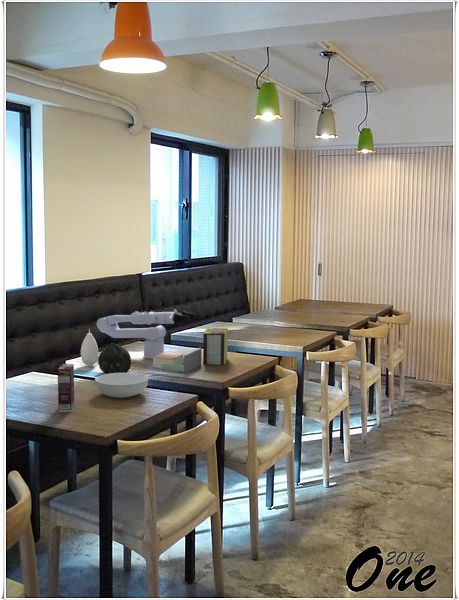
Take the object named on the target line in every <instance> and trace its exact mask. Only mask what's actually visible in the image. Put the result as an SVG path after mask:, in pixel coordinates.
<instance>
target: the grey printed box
mask: <svg viewBox="0 0 459 600" xmlns="http://www.w3.org/2000/svg"><path fill="white" fill-rule="evenodd" d="M202 350H203V347H198V348H196V349H194V350H192V351H189V352H188V353H185V354H183V365H179V364H169V363H162V368H161V370H162V369H165V370H164V371H169V370H172V372H178V371H182V372H181V373H188V372H190V371H192V370H193V369H196V368H198V367H199V366H201V365H202Z"/></svg>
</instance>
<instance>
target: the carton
mask: <svg viewBox="0 0 459 600" xmlns="http://www.w3.org/2000/svg"><path fill="white" fill-rule="evenodd" d="M183 357H184V353H175V352H166V351H164V353H161V354H159V355H157V356H155V357H153V359H152V361H153V362H152V367H160V368H159V369H162V363H169V364H179V365H182V364H183V365H184V363H183Z"/></svg>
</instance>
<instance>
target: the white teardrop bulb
mask: <svg viewBox="0 0 459 600" xmlns="http://www.w3.org/2000/svg"><path fill="white" fill-rule="evenodd" d="M80 357H81V361H82V363H83V364H84V365H85V366H87V367H88V368H89V367H92V366H94V365H95V364H96V363H97V362H98V358H99V348H98V344H97V341H96V339H95V337H94V335H93V334H92V333H91V329H90V328H89V329H88V333H86V336H85V337H84V339H83V341H82V343H81V348H80Z"/></svg>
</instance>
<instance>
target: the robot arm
mask: <svg viewBox="0 0 459 600" xmlns="http://www.w3.org/2000/svg"><path fill="white" fill-rule="evenodd" d="M195 319H196V313H191V312H188V311H185V310H181V313H180V312H178V311H177V309H173V311H161V312H160V311H158V312H157V311H155V312H154V311H149V312H148V311H143V312H139V311H138V310H137V311H134V312H132V313H131V314H129V315H128V314H115V315H108V316H105V317H101V318H98V319H97V321H96V326H97V328H98V330H99V331H100V332H101V333H104V334H106V335H108V337H111V338H113V339H145V340H144V345H143V357H142V358H144V359H151V360H153V357H155V356H157V355H159V354H161V353H164V352H165V349H164V348H165V347H164V346H165V345H164V344H165V338H164V337H165V336H166V334H167V329H166V328H165V327H164V326H163V325H162V324H165V325H168V324H173V325H174V326H175V325H178V324H180V323H185V322H189V321H190V320H195ZM126 322H127V323H128V322H129V323H131V324H133V325H148V326H150V325H152V324H159V325H157V326H154V327H143V328H141V327H139V328H137V327H131V328H130V327H129V328H120V326H119V324H118V323H126Z"/></svg>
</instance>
